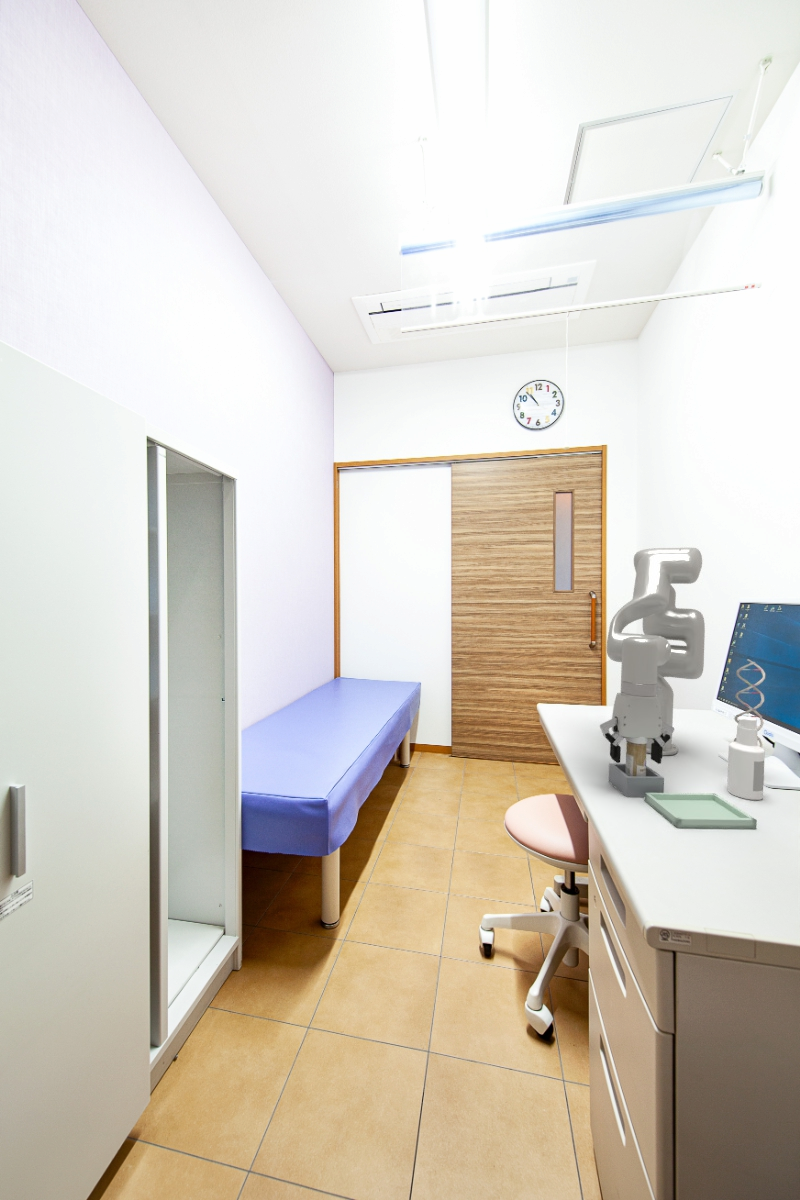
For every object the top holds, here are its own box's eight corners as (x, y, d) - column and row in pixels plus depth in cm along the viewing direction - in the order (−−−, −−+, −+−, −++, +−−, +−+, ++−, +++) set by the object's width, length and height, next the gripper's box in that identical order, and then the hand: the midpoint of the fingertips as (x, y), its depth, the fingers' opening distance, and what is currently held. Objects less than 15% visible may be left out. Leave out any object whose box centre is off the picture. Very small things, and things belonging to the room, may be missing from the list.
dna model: (766, 782, 116) (771, 663, 115) (736, 778, 118) (740, 661, 118) (756, 773, 122) (761, 659, 122) (727, 769, 125) (732, 657, 124)
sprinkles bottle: (646, 794, 108) (648, 737, 107) (625, 791, 109) (627, 734, 109) (644, 787, 112) (646, 731, 112) (623, 783, 114) (625, 729, 113)
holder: (608, 781, 115) (609, 763, 115) (643, 781, 115) (643, 763, 115) (626, 797, 106) (626, 777, 106) (663, 797, 106) (664, 778, 106)
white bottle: (769, 802, 105) (772, 723, 105) (735, 798, 106) (738, 720, 106) (753, 789, 112) (756, 715, 111) (721, 786, 113) (724, 713, 113)
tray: (644, 800, 105) (644, 792, 105) (714, 801, 105) (714, 793, 105) (677, 828, 93) (677, 819, 93) (756, 828, 93) (756, 820, 93)
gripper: (665, 687, 114) (662, 756, 114) (595, 685, 114) (592, 755, 114) (684, 693, 106) (681, 767, 107) (609, 692, 106) (607, 766, 106)
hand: (635, 761), depth 110 cm, fingers open, 9 cm apart
